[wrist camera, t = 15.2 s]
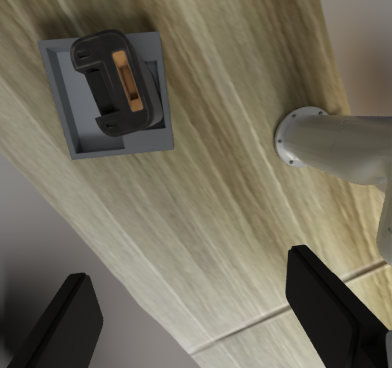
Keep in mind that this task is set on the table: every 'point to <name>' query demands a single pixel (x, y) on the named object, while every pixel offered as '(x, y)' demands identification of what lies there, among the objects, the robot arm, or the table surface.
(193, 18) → the table surface
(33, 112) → the table surface
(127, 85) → the electronic device
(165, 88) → the keyhole dock
